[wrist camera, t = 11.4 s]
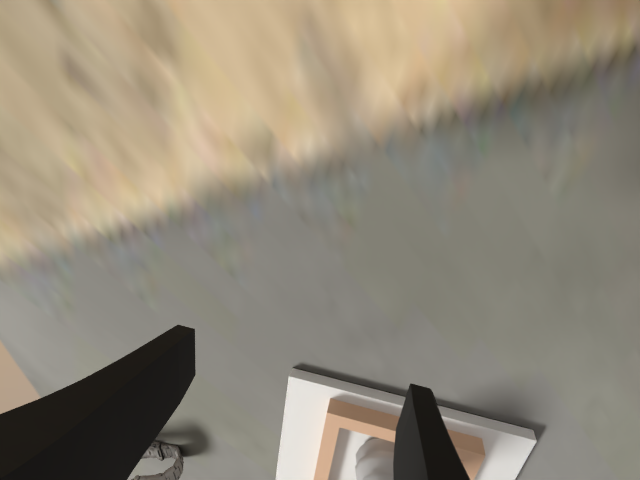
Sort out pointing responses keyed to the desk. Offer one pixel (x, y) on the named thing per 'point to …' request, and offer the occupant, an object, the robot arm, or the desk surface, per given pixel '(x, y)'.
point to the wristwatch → (163, 451)
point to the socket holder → (380, 432)
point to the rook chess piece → (375, 460)
